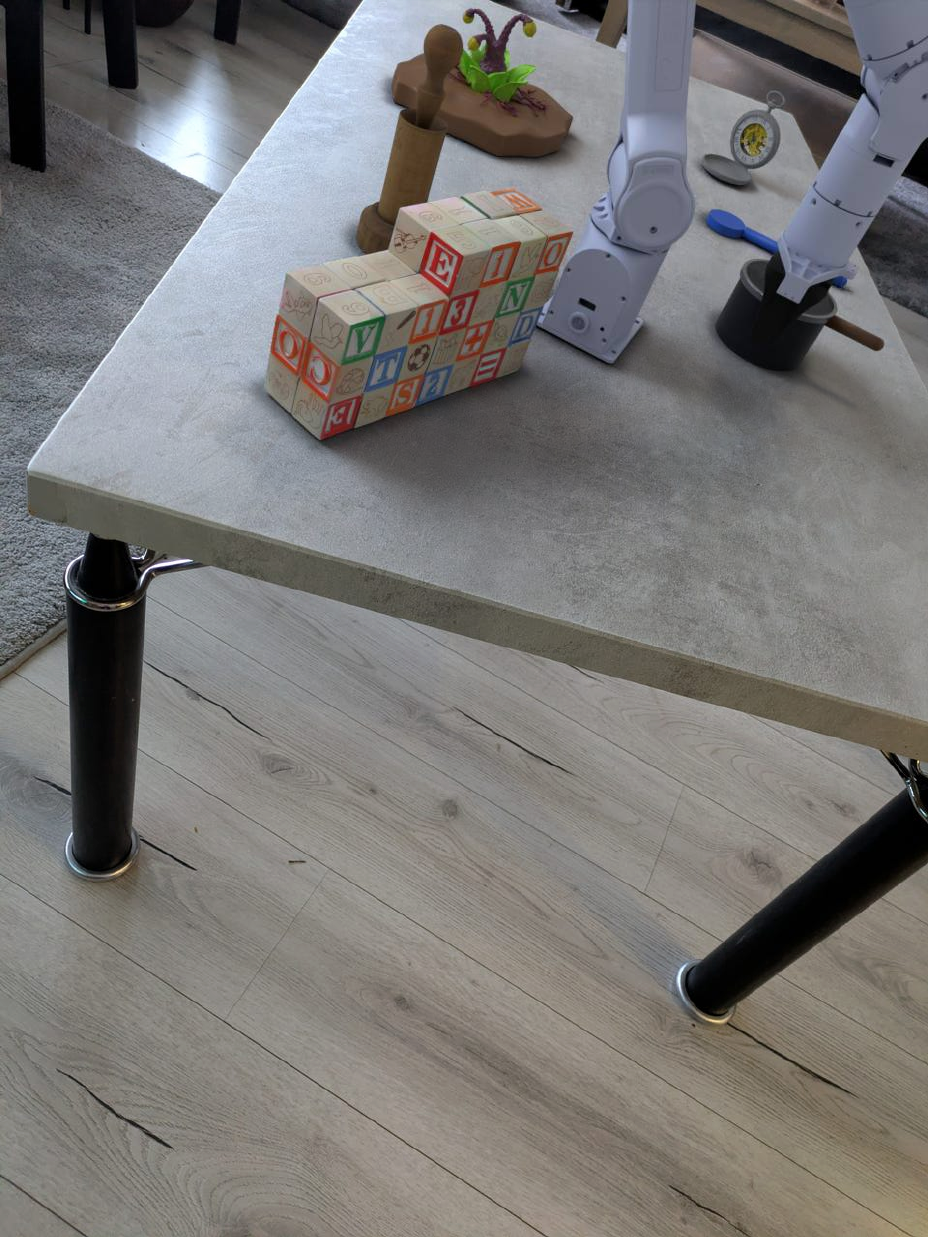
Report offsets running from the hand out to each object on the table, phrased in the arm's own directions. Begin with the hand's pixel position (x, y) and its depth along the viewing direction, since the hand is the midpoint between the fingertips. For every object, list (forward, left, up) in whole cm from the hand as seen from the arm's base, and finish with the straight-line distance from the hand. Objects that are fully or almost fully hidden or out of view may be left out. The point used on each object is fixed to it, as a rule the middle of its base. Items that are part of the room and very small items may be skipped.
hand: (760, 341), depth 89 cm
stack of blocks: (-28, +22, -3) cm, 36 cm away
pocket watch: (+46, +13, -3) cm, 48 cm away
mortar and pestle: (-11, +32, -3) cm, 34 cm away
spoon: (+29, +3, -3) cm, 29 cm away
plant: (+26, +40, -3) cm, 48 cm away
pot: (+6, -3, -3) cm, 7 cm away
